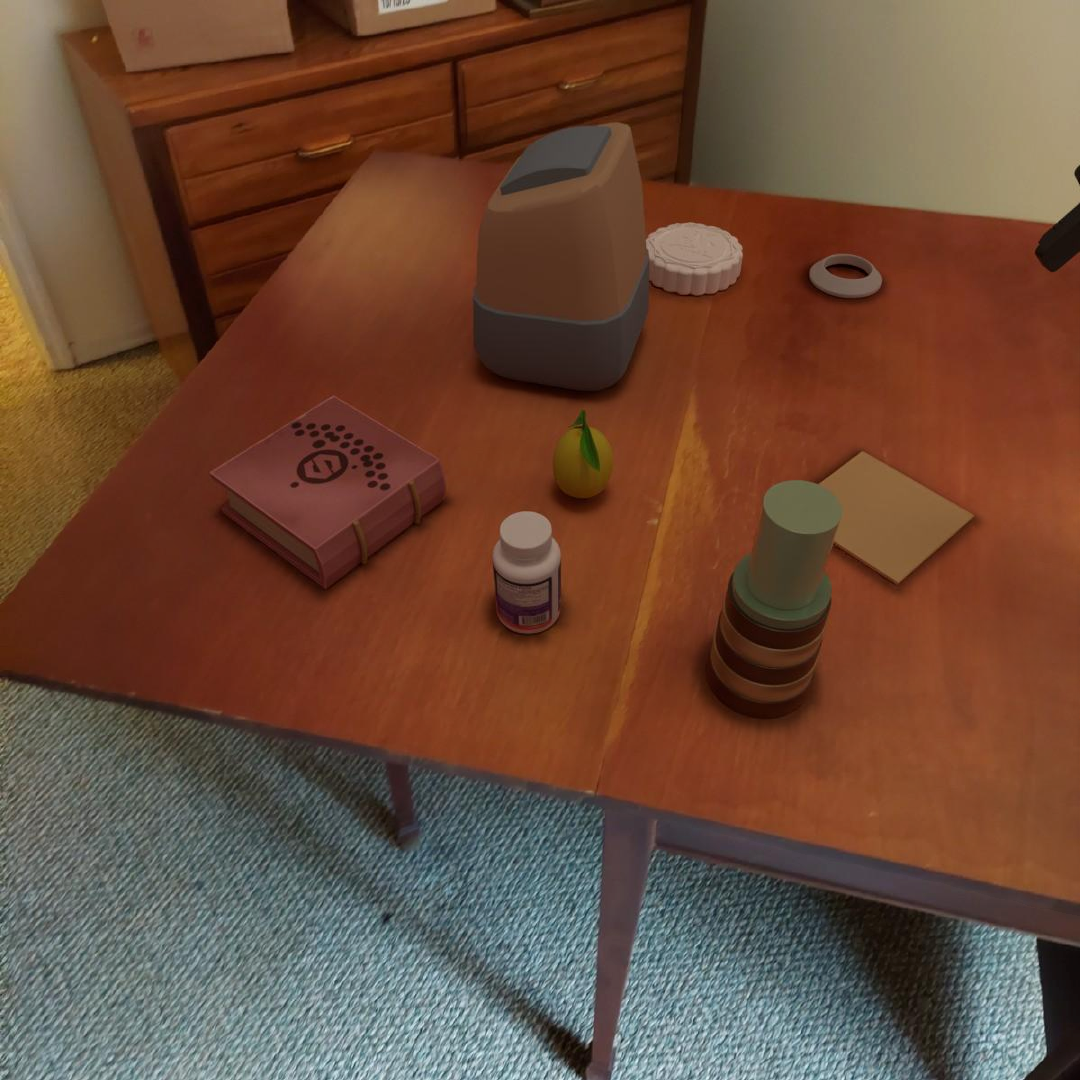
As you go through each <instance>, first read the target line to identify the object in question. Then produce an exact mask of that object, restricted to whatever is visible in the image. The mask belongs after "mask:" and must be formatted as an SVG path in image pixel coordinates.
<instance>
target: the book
mask: <svg viewBox="0 0 1080 1080" xmlns="http://www.w3.org/2000/svg"><path fill="white" fill-rule="evenodd" d="M209 476H210V478H211V480H213V481H214V482H216V483H217V484H218V485H220V486H221V487H223V488H224V490H225V494H226V496H227V498H228V502H227V503H225V504H224V505H222V506H221V510H222V513H223V514H224V515H226V516H227V517H229V518H230V519H231V520H232V521H234V522H235V523H237V524H238V525H239V526H241V527H242V528H243V529H244V530H246V531H247V532H248V533H249V534H251V535H253V536H254V537H255V538H256V539H258V540H259V541H260V542H262V543H263V544H265V545H266V546H267V547H268V548H270V549H271V550H272V551H274V552H275V553H276V554H278V555H279V556H281V558H283V559H285V560H286V561H287V562H288V563H290V564H291V565H293V566H294V567H296V568H297V569H298V570H299V571H300V572H302V573H303V574H305V576H307V577H309V578H310V579H311V580H312V581H314V582H315V583H316V584H318V585H319V586H321V587H322V588H323V589H324V590H326V589H328V588H329V587H330V586H333V584H334V583H336V582H337V581H338V580H340V579H341V578H343V577H344V576H345V575H347V574H348V573H349V572H351V571H352V570H353V569H354V568H356V567H358V565H360V564H361V565H365V566H366V564H368V558H369V557H371V556H372V555H373V554H374V553H375V552H377V551H378V550H380V549H381V548H383V547H384V546H385V545H387V544H388V543H389V542H390V541H392V540H393V539H395V537H397V536H398V535H400V534H401V533H402V532H404V531H405V530H406V529H407V528H409V527H410V526H412V525H413V524H414V525H419V524H421V518H422V517H424V516H425V515H427V514H428V513H429V512H430V511H431V510H433V509H434V508H436V507H437V506H438V505H440V504H442V503H443V502H444V501H445V498H446V492H447V484H446V476H445V472H444V469H443V465H442V462H441V459H440V458H439V457H436V456H435V455H433V454H432V453H430V452H429V451H427V450H425V449H424V448H421V447H420V446H418V445H417V444H415V443H413V442H412V441H410V440H408V439H407V438H405V437H404V436H402V435H400V434H399V433H397V432H395V431H393V430H392V429H390V428H388V427H387V426H385V425H383V424H382V423H380V422H378V421H377V420H375V419H373V418H372V417H370V416H368V415H367V414H365V413H364V412H362V411H361V410H359V409H357V408H355V407H354V406H352V405H351V404H349V403H347V402H346V401H344V400H342V399H340V397H337V396H335V395H332V396H330V397H329V398H327V399H325V400H324V401H322V402H321V403H318V404H317V405H315V406H314V407H312V408H311V409H309V410H308V411H306V412H304V413H303V414H301V415H299V416H297V417H296V418H294V419H293V420H291V421H289V422H288V423H286V424H284V425H283V426H282V427H280V428H278V429H277V430H275V431H274V432H272V433H271V434H269V435H267V436H265V437H264V438H262V439H261V440H259V441H258V442H255V443H254V444H253V445H251V446H250V447H248V448H246V449H245V450H243V451H241V452H239V453H238V454H237V455H235V456H233V457H232V458H230V459H229V460H227V461H225V462H224V463H222V464H221V465H218V466H217V467H216V468H213V469H212V470H211V471H209Z"/></svg>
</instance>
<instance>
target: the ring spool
mask: <svg viewBox="0 0 1080 1080" xmlns="http://www.w3.org/2000/svg"><path fill="white" fill-rule="evenodd" d="M818 484H819V483H815V482H813V481H809V480H803V479H788V480H783V481H779V482H778V483H775V484H774V485H772V486H771V487H770V488H768V489H767V491H766V492H765V493H764V496H763V498H762V503H761V508H760V512H759V517H758V521H757V525H756V530H755V535H754V538H753V542H752V543H753V544H752V548H751V551H750V552H749V553H748V554H746V555H745V556H743V557H742V558H741V559H740V560H739V562H738V563H737V564H736V566H735V567H734V570H733V572H734V573H733V572H732V573H733V578H732V584H731V590H732V595H733V597H734V600H735V602H736V604H737V605H738V606H739V608H740V609H741V610H742V611H743V612H744V613H745V614H746V615H747V616H749V617H750V618H751V619H753V620H755V621H757V622H758V623H760V624H763V625H765V626H769V627H772V628H777V629H798V628H803V627H806V626H809V625H811V624H813V623H815V622H816V621H817V620H819V619H820V618H821V617H822V616H823V614H824V613H825V612H826V609H827V607H828V604H829V601H830V598H831V599H832V590H833V589H832V583H831V580H830V577H829V575H828V574H827V572H826V567H827V565H828V562H829V558H830V555H831V552H832V549H833V546H834V544H833V543H834V539H835V536H836V533H837V530H838V526H839V523H840V520H841V516H842V508H841V504H840V502H839V500H838V499H837V498H836V496H835V495H834V494H833V493H832V492H830V491H829V490H828V489H826V488H824V487H823V486H821V485H818Z"/></svg>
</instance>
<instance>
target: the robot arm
mask: <svg viewBox="0 0 1080 1080" xmlns="http://www.w3.org/2000/svg"><path fill="white" fill-rule="evenodd" d="M1073 173H1074V178H1075V179H1076V181H1077V184H1078V185H1079V186H1080V164H1079V165H1078V166H1077V167H1076V168H1075V170H1074V172H1073ZM1079 253H1080V202H1078V203H1077V205H1076V206H1074V207H1073V208H1072V209H1071V210H1070V211H1068V212H1067V213H1066V214H1065V215H1064V216H1062V218H1060V219H1059V220H1058V222H1056V223H1054V225H1052V226H1051V227H1050V228H1049V229H1048V230H1047V231H1046V232H1044V233H1043V234H1042V236H1041V238H1039V240H1038V245H1037V246H1036V248H1035V250H1034V255H1035V257H1036V258H1037V260H1038V261H1039V263H1040V264H1041V266H1042V267H1043V268H1044V269H1046V270H1047V271H1048V272H1050V273H1055V272H1057V271H1059V270H1060V269H1061V268H1063V267H1064V266H1065V265H1066V264H1067V263H1068V262H1069V261H1071V260H1072V259H1073V258H1074V257H1075V256H1077V255H1078V254H1079Z"/></svg>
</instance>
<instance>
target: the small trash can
mask: <svg viewBox="0 0 1080 1080" xmlns="http://www.w3.org/2000/svg"><path fill="white" fill-rule="evenodd" d="M638 162H639V161H638V157H637V152H636V149H635V143H634V138H633V133H632V129H631V127H630V125H629V124H626V123H623V122H618V121H614V122H608V123H601V124H598V125H580V126H573V127H567V128H563V129H560V130H557V131H554V132H551V133H549V134H546V135H545V136H542V137H541V138H538V139H536V140H535V141H534V142H532V143H531V144H529V145H527V146H526V147H525V149H524V150H523V152H522V154H521V155H519V157H517V158H516V160H515V161H514V163H513V165H512V166H511V167H510V168H509V170H508V172H507V173H506V175H504V178H503V179H502V181H501V182H500V184H499V185H498V186H497V188H496V189H495V191H494V192H493V193H492V195H491V196H490V198H489V200H487V203H486V205H485V209H484V212H483V214H482V217H481V220H480V226H479V230H478V236H477V237H478V239H477V250H476V252H477V254H476V281H475V282H476V283H475V285H474V288H473V295H472V309H473V310H472V316H473V317H472V318H473V321H472V323H473V325H472V326H473V328H472V329H473V348H474V350H475V351H476V354H477V356H478V358H479V361H481V363H483V364H484V365H485V367H486V368H487V369H488V370H490V371H491V372H493V373H494V374H495V375H498V376H500V377H503V378H506V379H508V380H513V381H521V382H526V383H531V384H538V385H542V386H543V385H544V386H551V387H556V388H563V389H568V390H574V391H579V392H598V391H601V390H605V389H607V388H610V387H612V386H613V385H615V384H616V383H617V382H618V381H619V380H620V379H621V378H622V377H623V376H624V375H625V374H626V371H627V368H628V366H629V363H630V362H631V359H632V356H633V353H634V351H635V349H636V345H637V343H638V340H639V338H640V335H641V332H642V329H643V327H644V324H645V322H646V319H647V316H648V314H649V309H650V308H649V307H650V306H649V305H650V281H649V251H648V249H647V247H646V239H647V235H646V222H645V221H646V220H645V209H644V208H645V207H644V194H643V184H642V177H641V173H640V167H639V163H638Z"/></svg>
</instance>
